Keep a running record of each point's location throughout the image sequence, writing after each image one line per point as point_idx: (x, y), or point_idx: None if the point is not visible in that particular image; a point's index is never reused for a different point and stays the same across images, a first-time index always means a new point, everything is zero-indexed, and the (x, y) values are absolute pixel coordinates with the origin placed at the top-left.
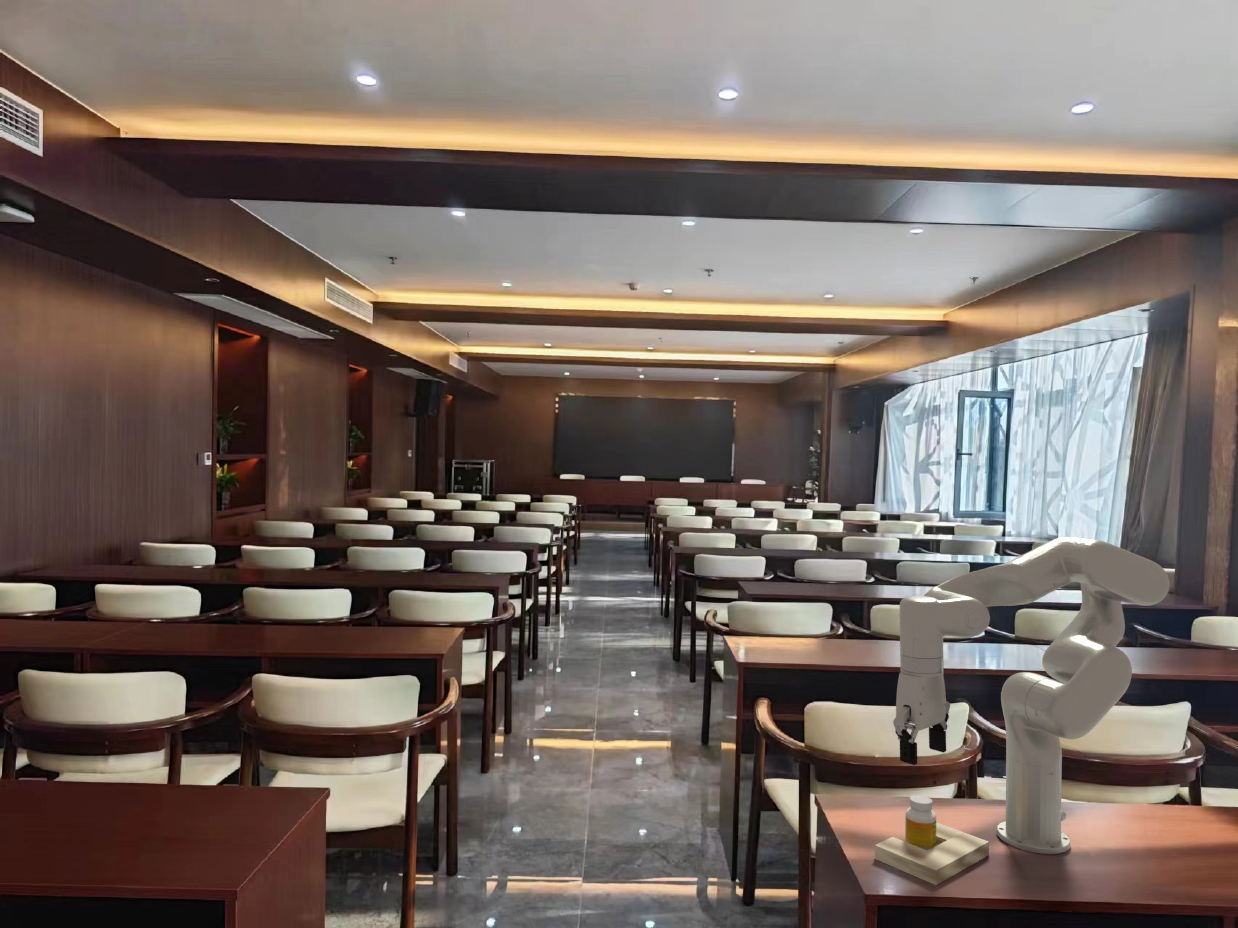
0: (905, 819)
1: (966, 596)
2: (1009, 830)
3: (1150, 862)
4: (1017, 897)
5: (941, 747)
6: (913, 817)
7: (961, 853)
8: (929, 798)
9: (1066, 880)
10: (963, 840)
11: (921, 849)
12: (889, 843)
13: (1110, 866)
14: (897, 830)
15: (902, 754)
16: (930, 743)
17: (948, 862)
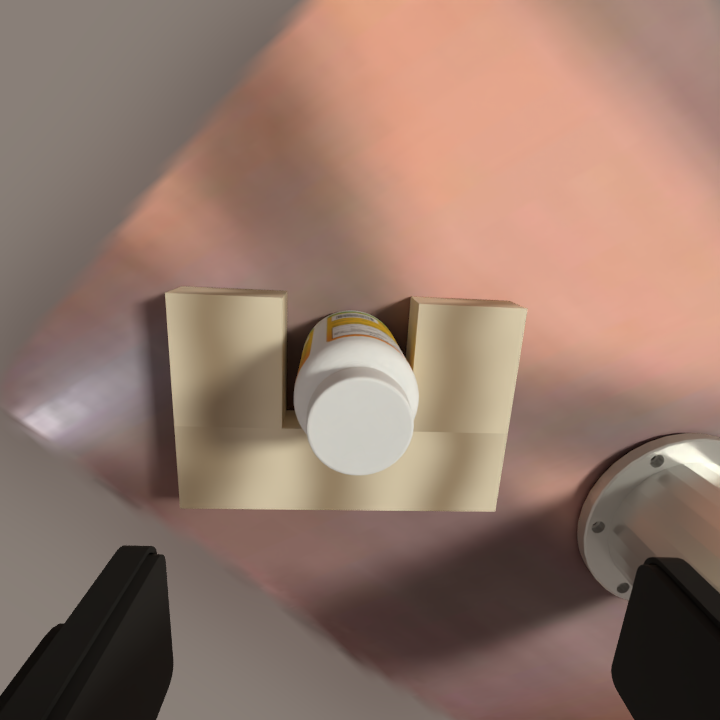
0: (321, 342)
1: None
2: (637, 499)
3: None
4: (307, 618)
5: (637, 701)
6: (294, 402)
7: (349, 500)
8: (403, 447)
9: (480, 644)
10: (445, 462)
11: (273, 413)
12: (222, 320)
13: None
14: (446, 217)
15: (40, 654)
16: (675, 610)
17: (260, 505)
